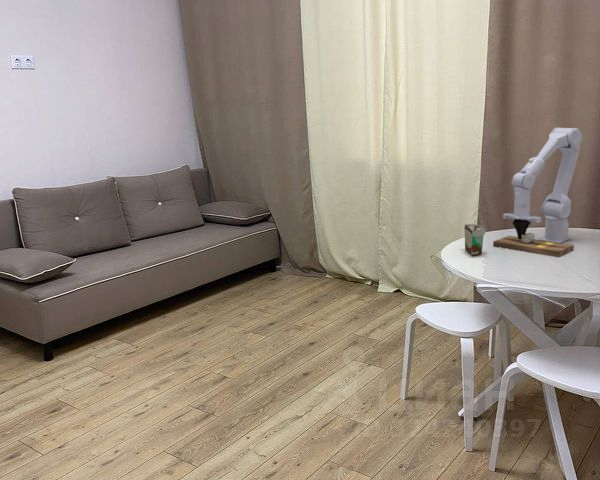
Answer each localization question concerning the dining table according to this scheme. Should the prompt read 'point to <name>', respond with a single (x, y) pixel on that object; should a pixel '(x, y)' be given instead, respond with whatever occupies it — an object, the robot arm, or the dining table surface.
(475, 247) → the food container
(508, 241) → the fader console
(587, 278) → the dining table surface
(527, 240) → the fader knob
